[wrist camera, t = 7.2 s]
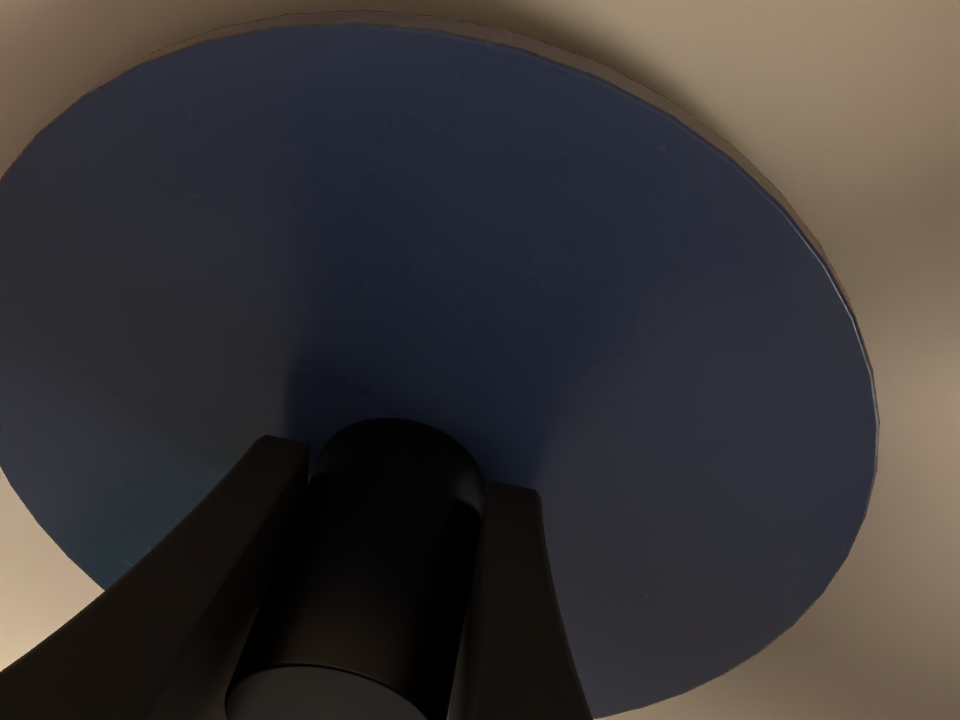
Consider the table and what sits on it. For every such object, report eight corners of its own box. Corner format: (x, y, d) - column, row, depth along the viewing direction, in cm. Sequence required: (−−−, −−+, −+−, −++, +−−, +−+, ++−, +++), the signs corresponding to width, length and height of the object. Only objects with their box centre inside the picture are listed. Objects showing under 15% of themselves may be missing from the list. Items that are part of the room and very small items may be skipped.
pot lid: (970, 580, 14) (1103, 928, 10) (334, 725, 19) (259, 993, 15) (608, -274, 8) (592, -229, 4) (-172, 268, 13) (-508, 516, 9)
